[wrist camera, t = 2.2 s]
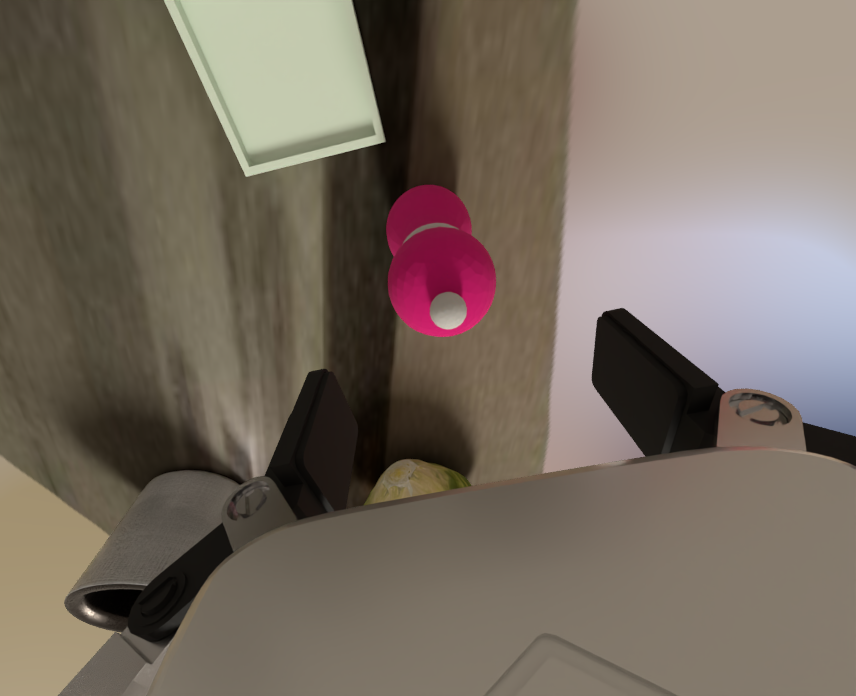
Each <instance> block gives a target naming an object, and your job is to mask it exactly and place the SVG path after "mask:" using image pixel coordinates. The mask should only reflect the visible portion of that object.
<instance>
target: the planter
mask: <svg viewBox="0 0 856 696" xmlns="http://www.w3.org/2000/svg"><path fill="white" fill-rule="evenodd" d="M239 486H240V485H239V484H238V483H237V482H235V481H233V480H232V479H229V478H227V477H225V476H222V475H220V474H216V473H212V472H207V471H201V470H182V471H174V472H169V473H166V474H162V475H160V476H158V477H156V478H154V479H153V480H151V481H150V482H149V483H148V484H147V485H146V486H145V488H144V489H143V490H142V491H141V493H140V494H139V496H138V497H137V498H136V500H135V501H134V503H133V504H132V505H131V507H130V508H129V510H128V511H127V512H126V514H125V515H124V517H123V518H122V520H121V521H120V522H119V524H118V525H117V527H116V528H115V530H114V531H113V532H112V534H111V535H110V537H109V538H108V539H107V541H106V542H105V544H104V545H103V546H102V548H101V549H100V551H99V552H98V553H97V555H96V556H95V558H94V559H93V560H92V562H91V563H90V565H89V566H88V567H87V569H86V570H85V572H84V573H83V574H82V576H81V577H80V578H79V580H78V581H77V583H76V584H75V585H74V587H73V588H72V590H71V591H70V592H69V594H68V595H67V596H66V598H65V602H64V604H65V607H66V609H67V610H68V611H69V612H70V613H71V614H72V615H73V616H74V617H76V618H78V619H79V620H81V621H83V622H86V623H88V624H90V625H93V626H96V627H99V628H103V629H107V630H112V631H116V632H123V631H124V630H125V629H126V628H127V626H128V617H129V614H130V611H131V608H132V606H133V605H134V603H135V601H136V599H137V598H138V596H139V595H140V594H141V592H142V591H143V590H144V589H145V587H146V586H147V585H148V584H149V583H150V582H151V581H152V580H153V579H154V578H155V577H157V576H158V575H159V574H160V573H161V572H163V571H164V570H165V569H166V568H167V567H169V566H170V565H171V564H172V563H174V562H175V561H176V560H177V559H178V558H180V557H181V556H182V555H183V554H184V553H186V552H187V551H188V550H189V549H191V548H192V547H193V546H194V545H195V544H197V543H198V542H199V541H200V540H201V539H203V538H204V537H205V536H206V535H208V534H209V533H210V532H211V531H212V530H214V529H215V528H216V527H217V526H218V525H220V524H221V523H222V518H221V512H222V508H223V505H224V504H225V502H226V500H227V498H228V497H229V496H230V495H231V494H232V492H233V491H234V490H235V489H237V488H238V487H239Z"/></svg>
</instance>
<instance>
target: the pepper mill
mask: <svg viewBox="0 0 856 696" xmlns="http://www.w3.org/2000/svg"><path fill="white" fill-rule="evenodd" d="M386 231H387V239H388V244H389V247H390V250H391V252H392V254H393V256H394V258H393V260H392V263H391V266H390V270H389V273H388V290H389V296H390V299H391V302H392V305H393V307H394V309H395V311H396V312H397V314H398V315H399V316H400V318H401V319H402V320H403V321H404V322H405V323H406V324H407V325H408V326H410V327H411V328H413V329H414V330H416V331H418V332H421V333H423V334H426V335H431V336H438V337H446V336H453V335H457V334H461V333H463V332H465V331H467V330H469V329H471V328H472V327H473V326H474V325H476V324H477V323H478V322H479V321H480V320H481V319H482V318H483V317H484V315H485V314H486V313H487V311H488V310H489V308H490V306H491V304H492V301H493V298H494V294H495V288H496V274H495V268H494V265H493V262H492V260H491V257H490V255H489V253H488V252H487V250H486V249H485V248H484V246H483V245H482V244H481V243H480V242H479V241H478V240H477V239H475V238H474V237H473V236H471V233H472V230H471V221H470V217H469V214H468V212H467V209H466V207H465V205H464V204H463V202H462V201H461V200H460V198H459V197H458V196H456V195H455V194H454V193H453V192H451V191H450V190H448V189H446V188H444V187H441V186H436V185H421V186H417V187H414V188H412V189H410V190H408V191H407V192H405V193H404V194H402V195H401V196H400V197H399V198H398V199H397V201H396V202H395V203H394V205H393V206H392V208H391V210H390V212H389V216H388V219H387V226H386Z"/></svg>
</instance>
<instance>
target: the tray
mask: <svg viewBox="0 0 856 696" xmlns="http://www.w3.org/2000/svg"><path fill="white" fill-rule="evenodd" d="M164 1H165V4H166V6H167V8H168V10H169V12H170V14H171V16H172V19H173V21H174V23H175V25H176V27H177V29H178V31H179V34H180V36H181V38H182V40H183V42H184V44H185V47H186V49H187V51H188V53H189V55H190V57H191V59H192V62H193V64H194V66H195V68H196V70H197V72H198V75H199V77H200V79H201V81H202V83H203V85H204V87H205V90H206V92H207V94H208V96H209V98H210V100H211V102H212V105H213V107H214V109H215V111H216V113H217V115H218V118H219V120H220V122H221V124H222V126H223V128H224V130H225V133H226V135H227V137H228V139H229V141H230V143H231V145H232V148H233V150H234V152H235V154H236V156H237V158H238V161H239V163H240V165H241V167H242V169H243V171H244V173H245V176H246V177H247V176H251V175H255V174H259V173H263V172H267V171H271V170H275V169H279V168H283V167H287V166H291V165H295V164H299V163H303V162H307V161H311V160H315V159H319V158H323V157H327V156H331V155H335V154H339V153H343V152H347V151H351V150H355V149H359V148H363V147H367V146H371V145H375V144H379V143H383V142H386V139H385V135H384V131H383V126H382V122H381V118H380V114H379V110H378V105H377V101H376V97H375V93H374V88H373V84H372V80H371V76H370V72H369V67H368V63H367V59H366V55H365V50H364V46H363V42H362V38H361V33H360V29H359V25H358V21H357V17H356V12H355V8H354V4H353V0H164Z"/></svg>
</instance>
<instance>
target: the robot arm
mask: <svg viewBox="0 0 856 696" xmlns="http://www.w3.org/2000/svg"><path fill="white" fill-rule="evenodd" d="M592 383H593V385H594V387H595V389H596V390H597V392H598V393H599V394H600V396H601V397H602V398H603V400H604V401H605V402H606V404H607V405H608V406H609V408H610V409H611V410H612V412H613V413H614V414H615V416H616V417H617V419H618V420H619V421H620V423H621V424H622V425H623V427H624V428H625V429H626V431H627V432H628V433H629V435H630V436H631V437H632V439H633V440H634V442H635V443H636V444H637V446H638V447H639V448H640V450H641V451H642V452H643V454H644V455H645V456H646V457H640V458H634V459H628V460H622V461H616V462H610V463H604V464H598V465H592V466H586V467H580V468H574V469H568V470H562V471H556V472H550V473H544V474H538V475H533V476H527V477H521V478H515V479H510V480H504V481H498V482H492V483H486V484H481V485H475V486H469V487H464V488H458V489H452V490H447V491H441V492H435V493H430V494H424V495H419V496H413V497H407V498H402V499H396V500H391V501H385V502H379V503H374V504H369V505H364V506H359V507H354V508H349V509H346V504H347V498H348V492H349V486H350V480H351V473H352V467H353V461H354V455H355V449H356V443H357V437H358V425H357V422H356V420H355V418H354V416H353V413H352V411H351V409H350V407H349V405H348V403H347V401H346V399H345V396H344V394H343V392H342V390H341V388H340V386H339V384H338V382H337V379H336V377H335V375H334V373H333V372H328V370H327V369H321V370H316V371H311V372H309V373H308V375H307V377H306V380H305V382H304V385H303V387H302V389H301V392H300V394H299V397H298V399H297V402H296V404H295V406H294V409H293V411H292V413H291V415H290V416H289V418H288V421H287V423H286V426H285V428H284V430H283V433H282V435H281V438H280V440H279V443H278V445H277V447H276V450H275V452H274V455H273V457H272V459H271V462H270V464H269V467H268V469H267V471H266V474H265V476H261V477H255V478H253V479H250V480H248V481H246V482H245V483H243V484H241V485H240V486H239V487H238V488H237V489H235V490H234V491H233V492H232V494H231V495H230V496H229V497H228V498H227V500H226V502H225V504H224V505H223V508H222V512H221V518H222V523H221V524H220V525H218V526H217V527H216V528H215V529H214V530H212V531H211V532H210V533H209V534H208V535H206V536H205V537H204V538H203V539H201V540H200V541H199V542H198V543H197V544H195V545H194V546H193V547H192V548H191V549H189V550H188V551H187V552H186V553H184V554H183V555H182V556H181V557H180V558H178V559H177V560H176V561H175V562H174V563H172V564H171V565H170V566H169V567H167V568H166V569H165V570H164V571H163V572H161V573H160V574H159V575H158V576H157V577H155V578H154V579H153V580H152V581H151V582H150V583H149V584H148V585H147V586H146V587H145V589H144V590H143V591H142V592H141V594H140V595H139V596H138V598H137V599H136V601H135V603H134V605H133V606H132V608H131V611H130V614H129V617H128V626H127V628H126V629H125V630H124V631H123V632H122V633H121V634H119V633H116V632H115V633H114V634H113V635H112V636H111V638H110V639H109V640H108V641H107V642H106V643H105V644H104V645H103V646H102V647H101V649H99V651H98V652H97V653H96V654H95V655H94V656H93V657H92V658H91V659H90V661H89V662H88V663H87V664H86V665H85V666H84V667H83V668H82V669H81V671H80V672H79V673H78V674H77V675H76V676H75V677H74V678H73V679H72V680H71V682H70V683H69V684H68V685H67V686H66V687H65V688H64V689H63V691H62V692H61V693H60V694H59V695H58V696H856V437H855V436H852V435H848V434H844V433H840V432H837V431H833V430H829V429H826V428H822V427H818V426H814V425H811V424H807V423H803V422H802V418H801V415H800V413H799V411H798V410H797V409H796V408H795V407H794V406H793V405H792V404H790V403H789V402H787V401H786V400H784V399H782V398H780V397H778V396H776V395H773V394H771V393H767V392H763V391H760V390H753V389H734V390H730V391H728V392H724V391H723V390H722V389H721V388H719V387H718V383H717V382H715V381H714V380H713V379H711V378H710V377H709V376H708V375H707V374H705V373H704V372H703V371H702V370H700V369H699V368H698V367H697V366H695V365H694V364H693V363H691V362H690V361H689V360H688V359H686V358H685V357H684V356H683V355H682V354H680V353H679V352H678V351H677V350H675V349H674V348H673V347H672V346H670V345H669V344H668V343H667V342H665V341H664V340H663V339H662V338H660V337H659V336H658V335H657V334H655V333H654V332H653V331H652V330H650V329H649V328H648V327H647V326H645V325H644V324H643V323H642V322H640V321H639V320H638V319H636V318H635V317H634V316H633V315H632V314H630V313H629V312H628V311H627V310H625V309H624V308H620V309H615V310H610V311H606V312H604V313H603V314H602V317H599V318H598V320H597V328H596V338H595V349H594V359H593V369H592Z"/></svg>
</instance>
